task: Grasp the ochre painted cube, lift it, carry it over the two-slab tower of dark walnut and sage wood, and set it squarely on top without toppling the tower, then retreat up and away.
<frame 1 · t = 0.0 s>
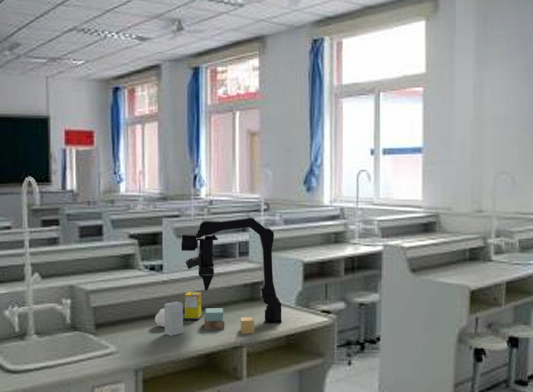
hand: (206, 287, 246), 15 cm above the countertop, fingers open, 9 cm apart
tower top: (214, 318, 241), point 3 cm above the countertop, touching tower base
skincare box: (173, 334, 230), on the countertop
tower base: (214, 327, 241), on the countertop, touching tower top
ochre block: (247, 331, 234), on the countertop
motion sensor: (165, 327, 240), on the countertop
supplement box: (193, 318, 253), on the countertop
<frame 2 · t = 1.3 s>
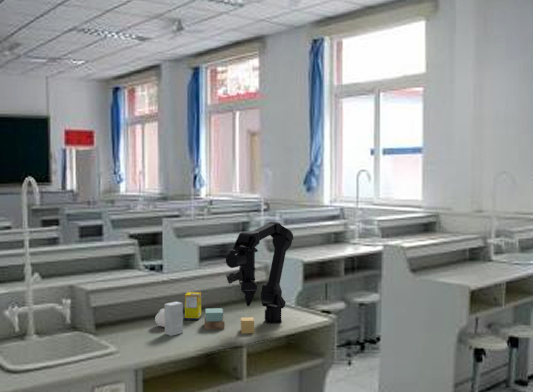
hand: (247, 303, 234), 11 cm above the countertop, fingers open, 9 cm apart
nothing on the countertop moved.
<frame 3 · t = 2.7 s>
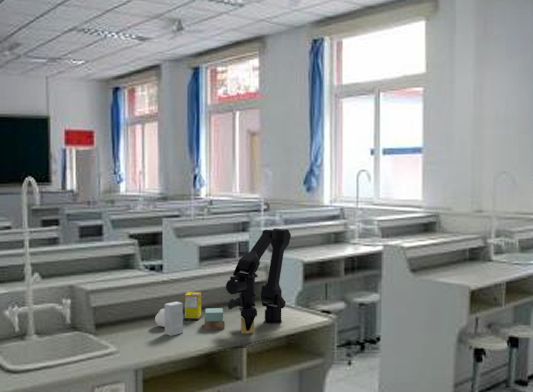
hand: (247, 328, 234), 1 cm above the countertop, fingers closed on ochre block, 5 cm apart
ochre block: (247, 331, 234), on the countertop, touching gripper
everything else where it was.
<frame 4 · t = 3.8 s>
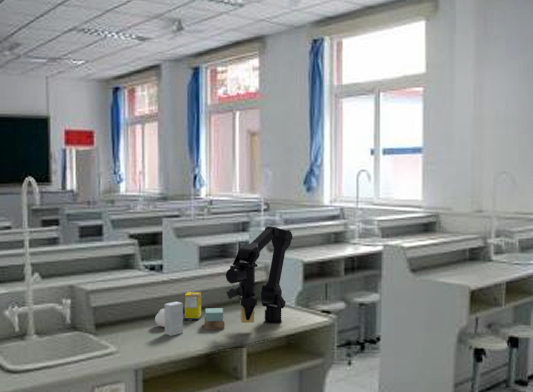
hand: (247, 318, 234), 5 cm above the countertop, fingers closed on ochre block, 5 cm apart
ochre block: (247, 320, 234), point 4 cm above the countertop, touching gripper
everything else where it was.
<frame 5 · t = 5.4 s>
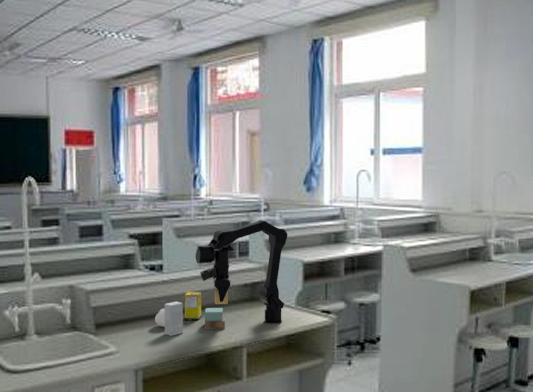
hand: (221, 300, 238), 11 cm above the countertop, fingers closed on ochre block, 5 cm apart
tower top: (214, 318, 241), point 3 cm above the countertop
tower base: (214, 327, 241), on the countertop
ochre block: (221, 302, 239), point 10 cm above the countertop, touching gripper
everything else where it was.
when the fingers open (9 cm above the countertop, at t = 6.4 s): ochre block drops 2 cm, point 7 cm above the countertop.
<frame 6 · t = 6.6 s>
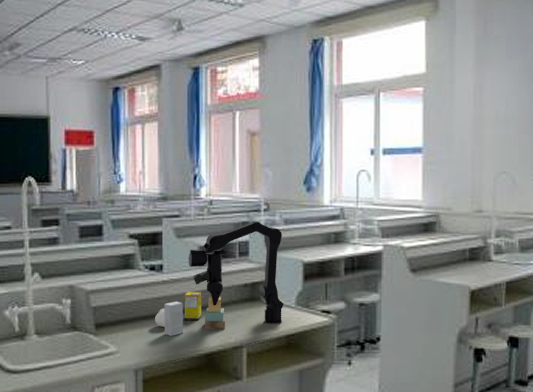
hand: (214, 303, 240), 9 cm above the countertop, fingers open, 6 cm apart
tower top: (215, 318, 241), point 3 cm above the countertop, touching tower base
tower base: (215, 327, 241), on the countertop, touching tower top
ochre block: (214, 310, 241), point 7 cm above the countertop
everything else where it was.
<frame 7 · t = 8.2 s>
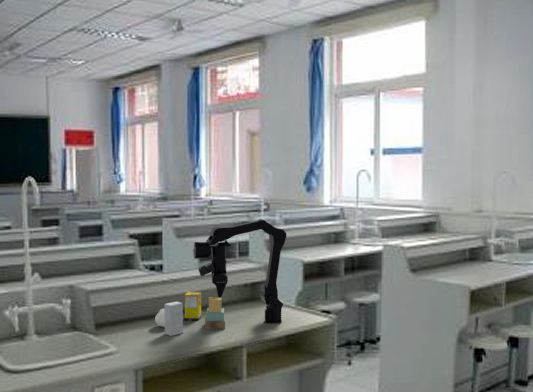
hand: (219, 295, 242), 12 cm above the countertop, fingers open, 9 cm apart
tower top: (215, 318, 241), point 3 cm above the countertop, touching ochre block, tower base
ochre block: (215, 310, 240), point 7 cm above the countertop, touching tower top
everything else where it was.
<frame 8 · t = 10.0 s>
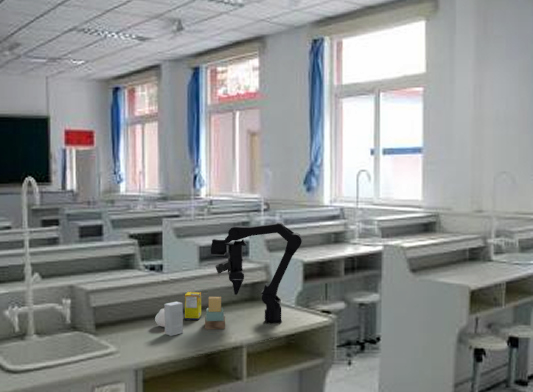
hand: (235, 292, 250), 12 cm above the countertop, fingers open, 9 cm apart
tower top: (215, 318, 241), point 3 cm above the countertop, touching tower base
ochre block: (214, 310, 241), point 7 cm above the countertop
everything else where it was.
at the end: ochre block 0.2 cm off-centre on the tower base, point 7.0 cm above the tower base's base; ochre block tilted 0°; tower top 0.1 cm off-centre on the tower base, point 3.5 cm above the tower base's base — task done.
